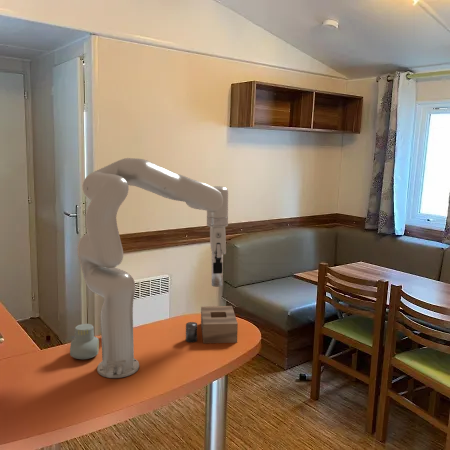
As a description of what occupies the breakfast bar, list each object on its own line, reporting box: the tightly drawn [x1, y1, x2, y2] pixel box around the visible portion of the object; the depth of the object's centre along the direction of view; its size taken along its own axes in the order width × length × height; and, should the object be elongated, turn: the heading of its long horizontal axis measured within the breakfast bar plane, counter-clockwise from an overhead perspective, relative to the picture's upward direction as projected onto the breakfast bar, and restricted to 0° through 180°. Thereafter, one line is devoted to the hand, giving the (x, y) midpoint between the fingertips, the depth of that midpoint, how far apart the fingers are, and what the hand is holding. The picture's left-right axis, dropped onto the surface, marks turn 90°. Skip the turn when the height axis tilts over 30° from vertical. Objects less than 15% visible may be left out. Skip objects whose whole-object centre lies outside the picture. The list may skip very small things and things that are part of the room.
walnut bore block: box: [200, 305, 238, 344], centre depth 173 cm, size 18×12×7 cm, turn 5°
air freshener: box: [69, 323, 100, 360], centre depth 153 cm, size 11×8×10 cm
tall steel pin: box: [211, 252, 224, 288], centre depth 170 cm, size 4×4×12 cm
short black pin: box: [185, 321, 198, 344], centre depth 167 cm, size 4×4×6 cm
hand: (217, 270), depth 170 cm, fingers closed on tall steel pin, 4 cm apart
